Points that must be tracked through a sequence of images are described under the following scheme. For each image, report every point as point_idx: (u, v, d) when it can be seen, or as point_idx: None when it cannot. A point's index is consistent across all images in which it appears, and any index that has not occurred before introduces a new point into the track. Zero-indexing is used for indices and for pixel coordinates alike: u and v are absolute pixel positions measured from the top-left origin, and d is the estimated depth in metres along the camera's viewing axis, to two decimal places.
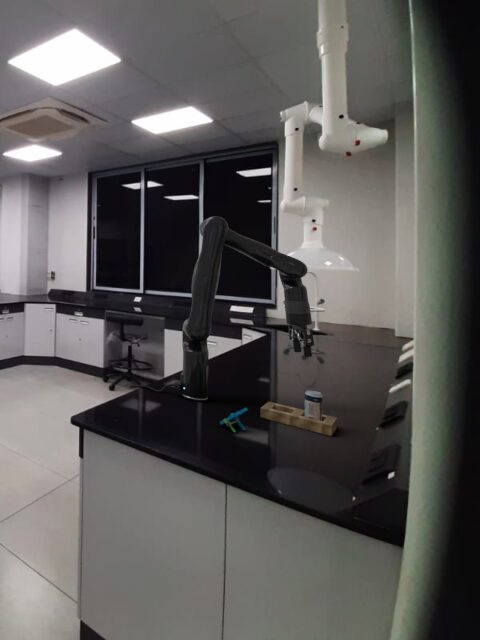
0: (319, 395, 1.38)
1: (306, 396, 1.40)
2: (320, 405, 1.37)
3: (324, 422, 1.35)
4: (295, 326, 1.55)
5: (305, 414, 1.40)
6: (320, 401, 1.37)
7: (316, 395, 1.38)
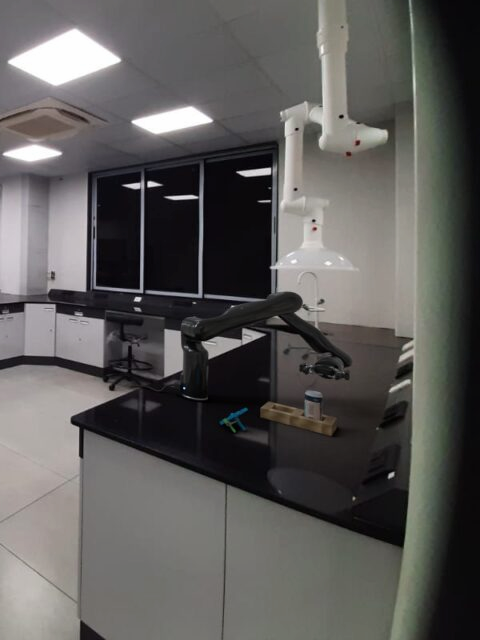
0: (319, 395, 1.38)
1: (306, 396, 1.40)
2: (320, 405, 1.37)
3: (324, 422, 1.35)
4: (324, 366, 1.55)
5: (305, 414, 1.40)
6: (320, 401, 1.37)
7: (316, 395, 1.38)
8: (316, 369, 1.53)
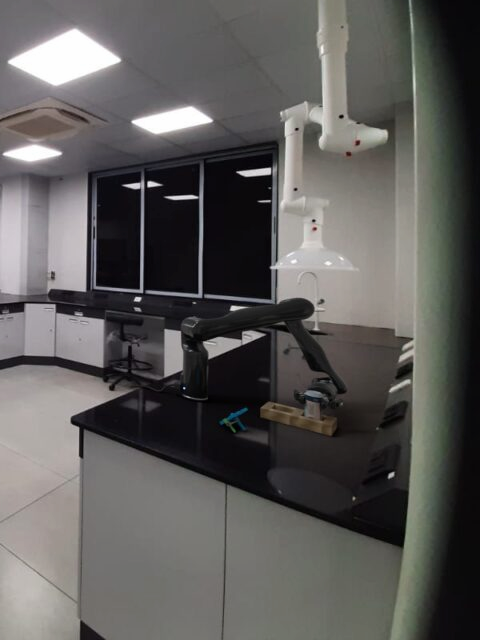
0: (319, 395, 1.38)
1: (306, 396, 1.40)
2: (320, 405, 1.37)
3: (324, 422, 1.35)
4: None
5: (305, 414, 1.40)
6: (320, 401, 1.37)
7: (316, 395, 1.38)
8: None
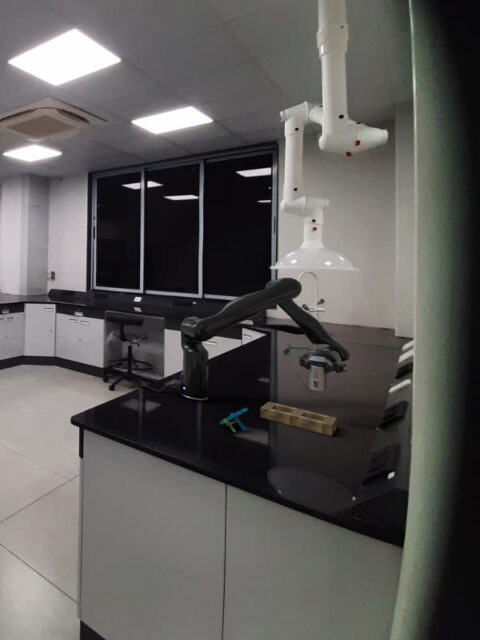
0: (323, 360, 1.42)
1: (311, 361, 1.45)
2: (324, 369, 1.42)
3: (324, 422, 1.35)
4: None
5: (310, 379, 1.45)
6: (324, 365, 1.42)
7: (321, 360, 1.42)
8: None
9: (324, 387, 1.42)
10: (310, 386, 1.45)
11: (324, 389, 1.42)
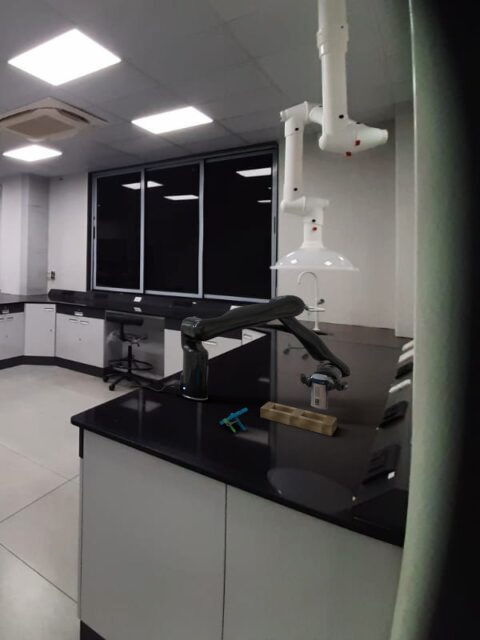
0: (325, 378, 1.45)
1: (313, 379, 1.47)
2: (326, 387, 1.45)
3: (324, 422, 1.35)
4: None
5: (312, 396, 1.48)
6: (326, 383, 1.45)
7: (322, 378, 1.45)
8: None
9: (326, 405, 1.45)
10: (312, 403, 1.47)
11: (326, 407, 1.45)
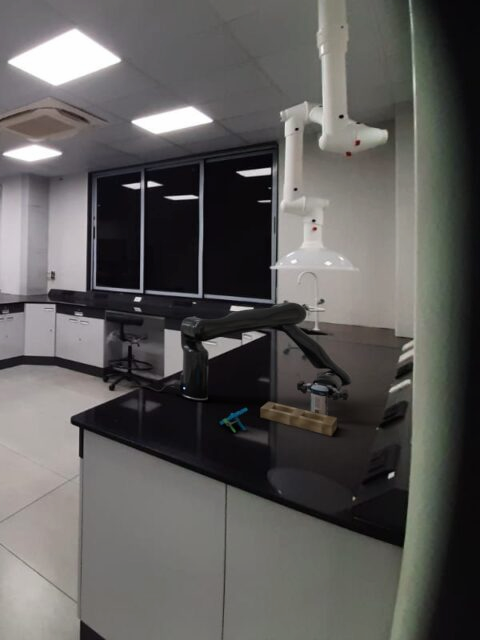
0: (325, 389, 1.45)
1: (312, 390, 1.47)
2: (326, 398, 1.45)
3: (324, 422, 1.35)
4: (322, 385, 1.53)
5: (311, 407, 1.48)
6: (326, 394, 1.45)
7: (322, 389, 1.45)
8: None
9: None
10: None
11: None
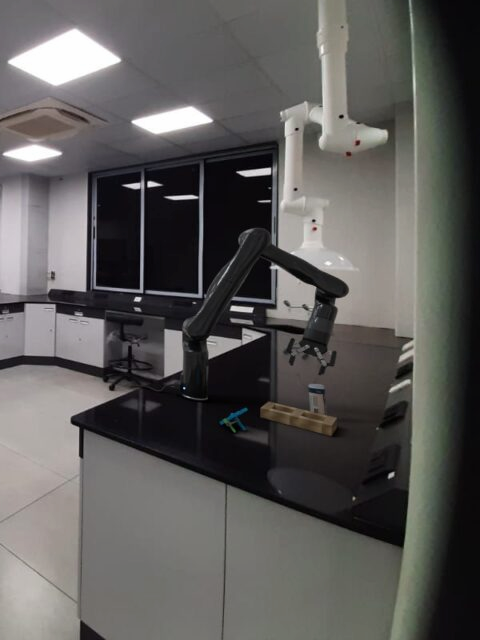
0: (321, 387, 1.46)
1: (309, 389, 1.48)
2: (323, 396, 1.46)
3: (324, 422, 1.35)
4: (311, 343, 1.52)
5: (310, 406, 1.48)
6: (323, 392, 1.46)
7: (318, 387, 1.46)
8: (303, 351, 1.54)
9: (325, 414, 1.45)
10: None
11: None
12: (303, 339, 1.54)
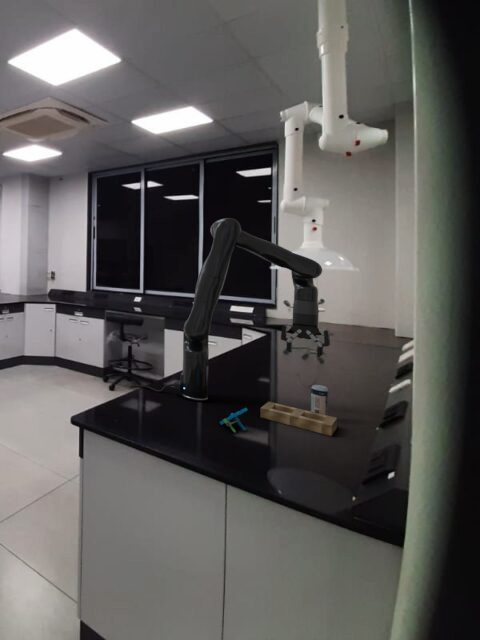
0: (325, 389, 1.45)
1: (312, 390, 1.47)
2: (326, 398, 1.45)
3: (324, 422, 1.35)
4: (302, 326, 1.53)
5: (311, 407, 1.48)
6: (326, 395, 1.45)
7: (322, 389, 1.45)
8: None
9: None
10: None
11: None
12: (293, 324, 1.55)
